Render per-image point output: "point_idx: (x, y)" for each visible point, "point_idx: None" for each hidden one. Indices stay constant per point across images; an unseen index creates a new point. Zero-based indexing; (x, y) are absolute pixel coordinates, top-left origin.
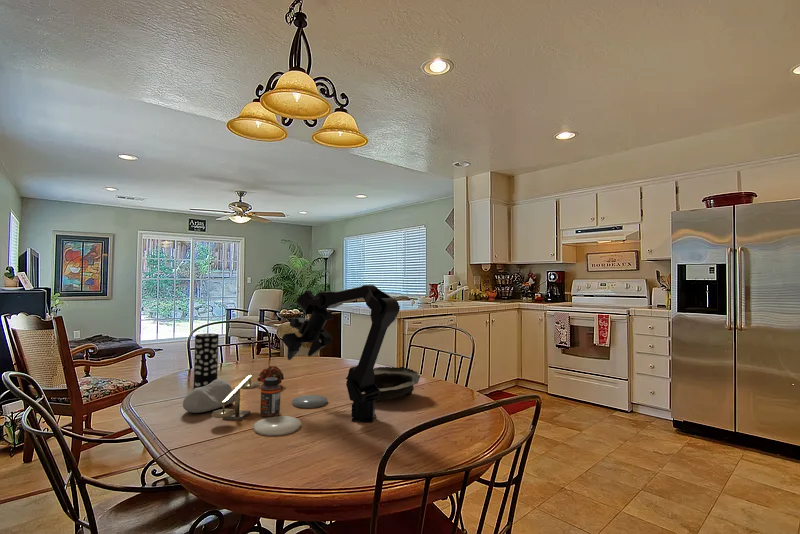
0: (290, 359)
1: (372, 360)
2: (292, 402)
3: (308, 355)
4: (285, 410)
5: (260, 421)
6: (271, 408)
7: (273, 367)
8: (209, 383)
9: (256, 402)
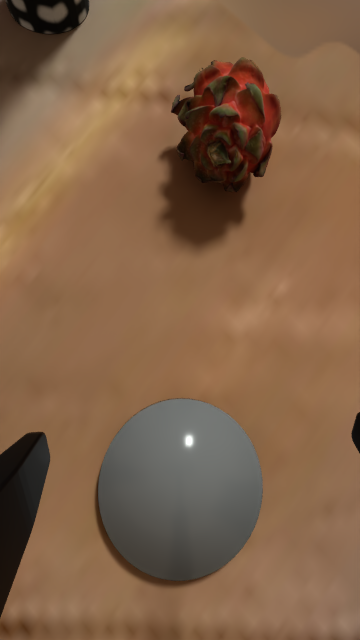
0: (38, 483)
1: None
2: (108, 448)
3: (355, 423)
4: None
5: None
6: None
7: (242, 92)
8: (32, 10)
9: (35, 303)
